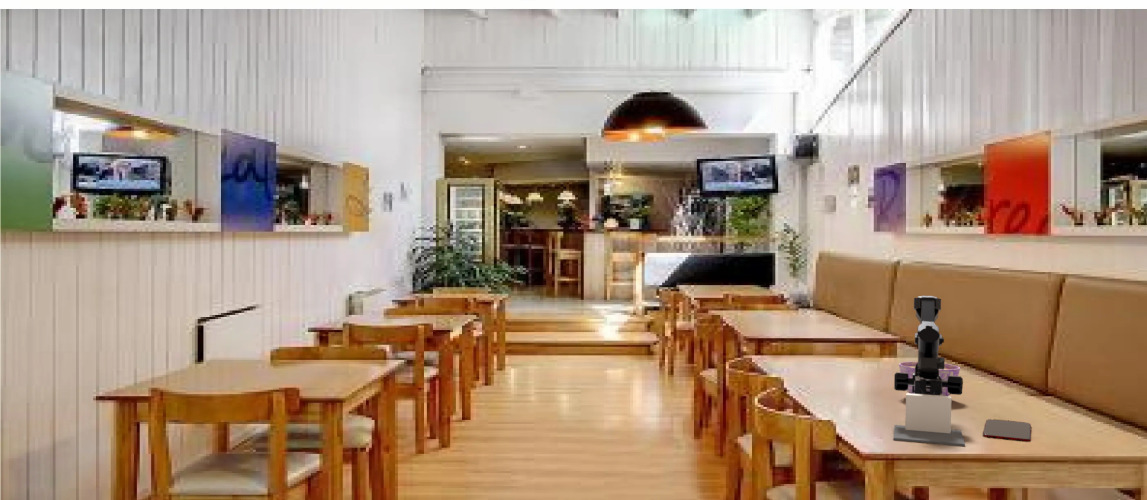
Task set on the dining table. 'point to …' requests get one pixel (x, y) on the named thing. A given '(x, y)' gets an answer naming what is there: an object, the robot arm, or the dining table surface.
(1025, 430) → the smartphone
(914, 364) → the lavender translucent bowl
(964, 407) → the dining table surface
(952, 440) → the charcoal mat
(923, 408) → the cream and orange slab
